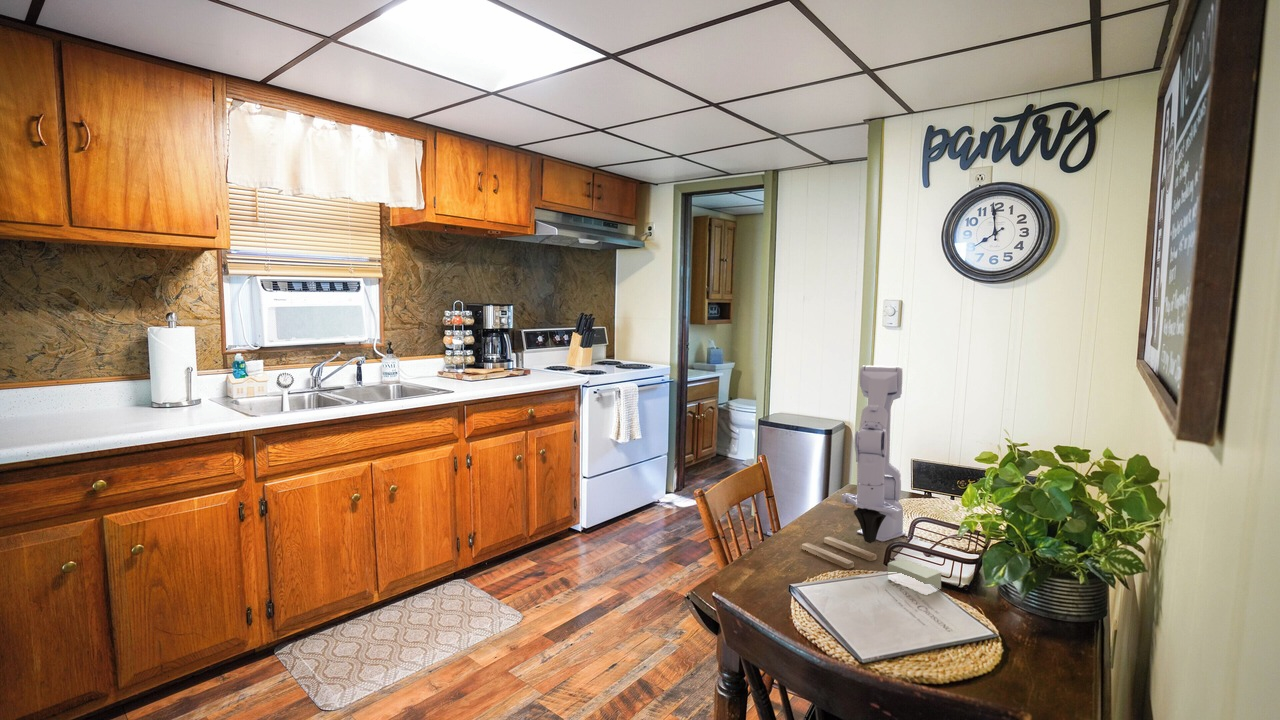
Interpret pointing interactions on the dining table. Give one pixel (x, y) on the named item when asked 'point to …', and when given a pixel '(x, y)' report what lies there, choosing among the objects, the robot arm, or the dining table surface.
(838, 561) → the twin beige rails
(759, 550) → the dining table surface
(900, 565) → the green block
